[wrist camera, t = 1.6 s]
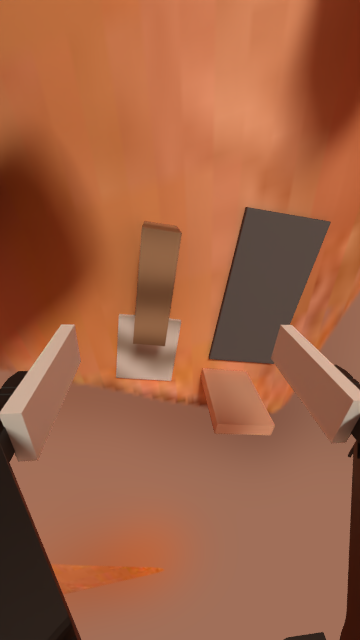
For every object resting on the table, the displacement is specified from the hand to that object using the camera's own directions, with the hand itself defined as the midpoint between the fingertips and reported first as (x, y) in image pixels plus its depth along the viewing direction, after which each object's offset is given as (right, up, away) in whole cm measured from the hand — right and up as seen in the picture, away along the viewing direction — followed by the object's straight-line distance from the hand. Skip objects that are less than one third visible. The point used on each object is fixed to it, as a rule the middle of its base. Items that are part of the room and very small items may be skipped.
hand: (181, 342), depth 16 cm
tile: (+7, -7, +21) cm, 23 cm away
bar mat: (+11, +4, +16) cm, 20 cm away
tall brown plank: (-4, +3, +15) cm, 16 cm away
